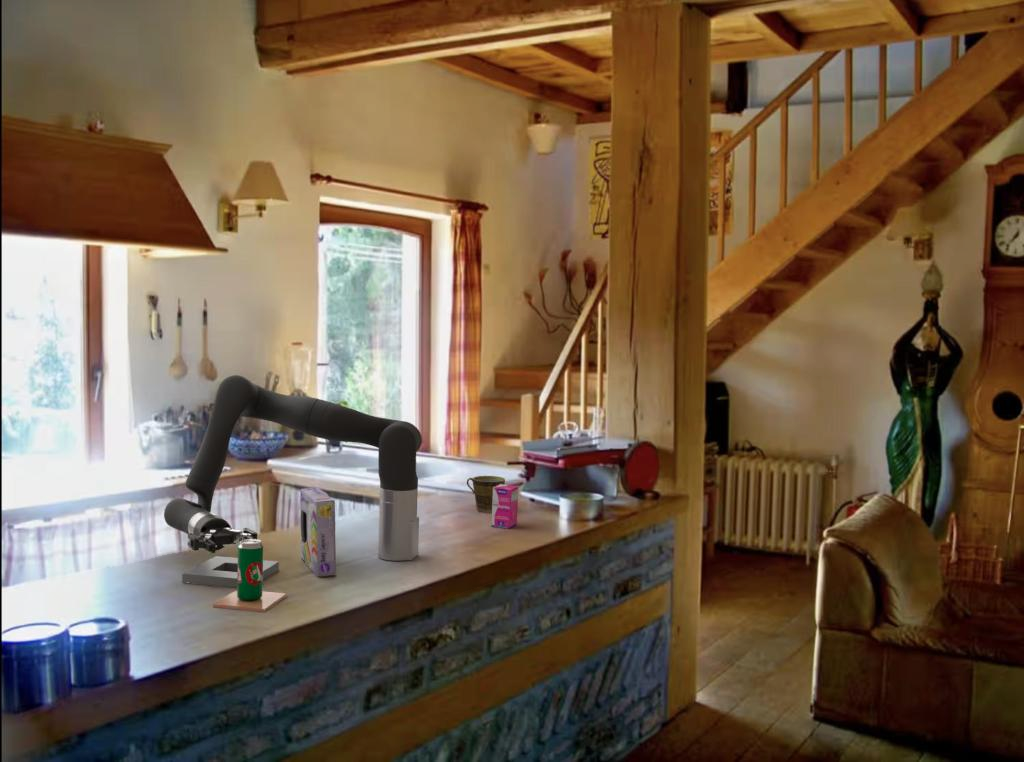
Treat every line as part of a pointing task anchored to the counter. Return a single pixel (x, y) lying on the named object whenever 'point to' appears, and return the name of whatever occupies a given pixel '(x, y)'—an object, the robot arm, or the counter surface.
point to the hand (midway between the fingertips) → (233, 546)
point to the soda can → (250, 570)
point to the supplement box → (504, 506)
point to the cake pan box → (318, 531)
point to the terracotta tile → (250, 602)
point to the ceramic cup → (485, 491)
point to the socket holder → (222, 572)
